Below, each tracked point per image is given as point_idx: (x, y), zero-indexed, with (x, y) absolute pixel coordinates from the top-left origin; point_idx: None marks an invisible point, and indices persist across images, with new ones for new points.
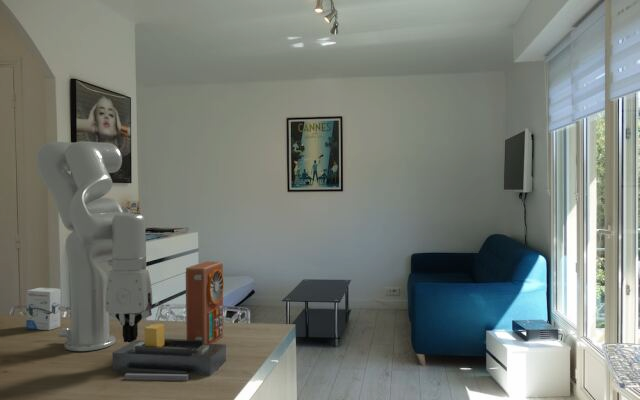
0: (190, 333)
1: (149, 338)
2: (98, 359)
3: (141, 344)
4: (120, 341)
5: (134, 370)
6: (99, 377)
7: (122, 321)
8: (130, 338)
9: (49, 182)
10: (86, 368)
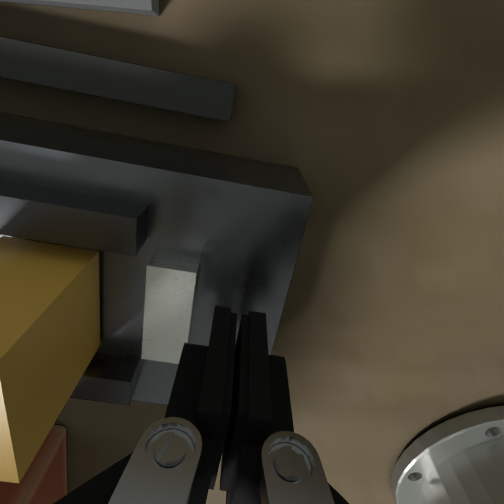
0: (3, 491)
1: (9, 287)
2: (415, 318)
3: (152, 318)
4: (373, 492)
5: (119, 61)
6: (337, 34)
7: (296, 482)
8: (212, 329)
9: None
10: (449, 197)
